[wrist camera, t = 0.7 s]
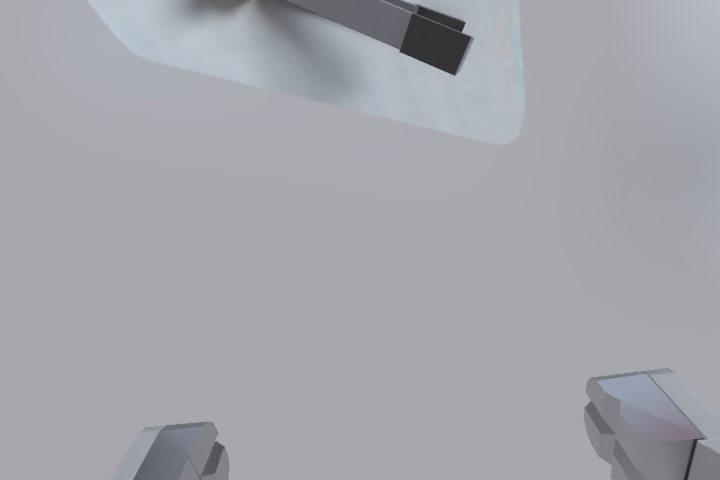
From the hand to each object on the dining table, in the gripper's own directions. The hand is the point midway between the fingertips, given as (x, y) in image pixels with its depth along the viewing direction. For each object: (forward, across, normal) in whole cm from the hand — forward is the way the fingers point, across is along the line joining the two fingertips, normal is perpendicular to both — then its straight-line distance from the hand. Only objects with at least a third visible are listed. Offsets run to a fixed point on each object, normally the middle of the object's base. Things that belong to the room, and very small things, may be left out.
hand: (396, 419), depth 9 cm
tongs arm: (+37, -1, -11) cm, 38 cm away
